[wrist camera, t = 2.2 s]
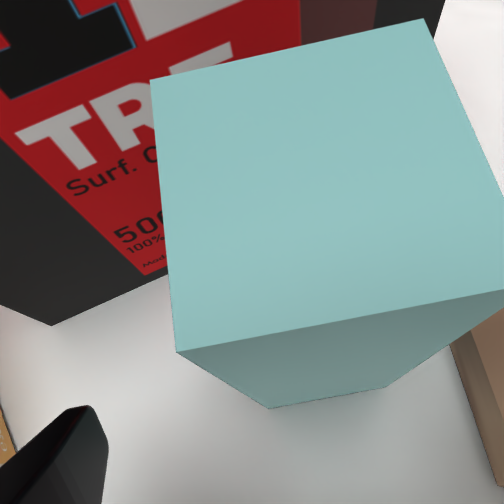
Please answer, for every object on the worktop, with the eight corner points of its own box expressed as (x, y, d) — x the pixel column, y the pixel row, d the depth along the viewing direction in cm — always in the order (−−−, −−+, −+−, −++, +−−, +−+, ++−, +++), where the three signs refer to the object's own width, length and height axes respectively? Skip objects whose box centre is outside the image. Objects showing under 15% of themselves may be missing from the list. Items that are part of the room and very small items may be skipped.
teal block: (385, 387, 17) (541, 282, 5) (268, 408, 17) (175, 351, 6) (355, 276, 19) (423, 18, 7) (249, 297, 19) (149, 80, 7)
